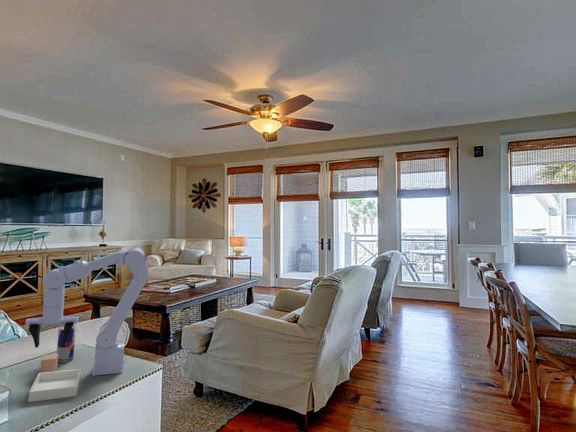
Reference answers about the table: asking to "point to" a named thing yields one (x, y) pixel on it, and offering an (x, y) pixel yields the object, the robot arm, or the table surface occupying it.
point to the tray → (55, 385)
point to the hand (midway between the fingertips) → (50, 345)
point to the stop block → (49, 363)
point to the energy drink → (65, 351)
